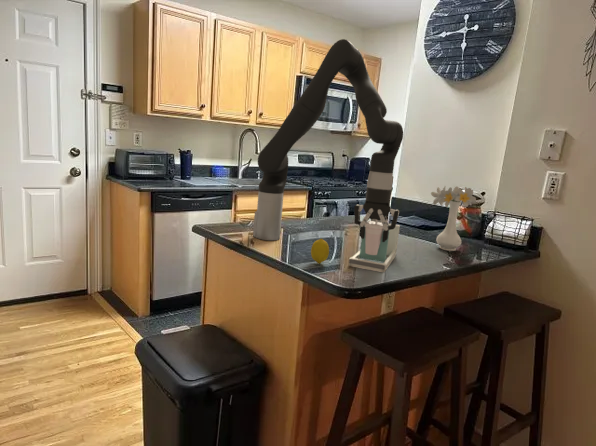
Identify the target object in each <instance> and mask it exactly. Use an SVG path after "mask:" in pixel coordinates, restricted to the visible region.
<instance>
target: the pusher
mask: <svg viewBox="0 0 596 446" xmlns="http://www.w3.org/2000/svg"><path fill="white" fill-rule="evenodd" d="M389 232H390V231H389ZM382 238H383V234H382ZM382 238H381V242H380V245H379V249H378V253H377V255H369V254H366V253H365V237H364V239H361V241H360V249H359V251H360V256H359V258H360V259H363V260H369V261H374V262H379V263H384V262H385V261H386V259H387V255H386V254H387V247H388V240H389V234H388V239H387V240H386V241H385V242H382Z"/></svg>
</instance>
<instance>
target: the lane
mask: <svg viewBox="0 0 596 446" xmlns="http://www.w3.org/2000/svg"><path fill="white" fill-rule="evenodd" d="M367 222H375V221H371V220H368V221H367ZM379 223H381V222H379ZM388 224H389V225H391V223H388ZM400 227H401V226H400V224H396V227H395V228H394V229H391V230H389V231H390V232H389V240H388V247H387V254H386V256H387V257H386V261H385V262H379V261H374V260H368V259H363V258H359V256H360V250H358V251H357V252H356V253H354V254H353V256H351V257H350V256H349V259H348V266H349V267H353V268H359V269H364V270H368V271H374V272H380V273H385V272H386V271H387V270H388V268H389V266H390V265H391V263H392V262H393V261H394V259H395V258H396V256H397V250H398V242H399V236H400Z"/></svg>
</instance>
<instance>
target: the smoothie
mask: <svg viewBox="0 0 596 446" xmlns="http://www.w3.org/2000/svg"><path fill="white" fill-rule="evenodd" d="M377 221H378V220H376V222H368V221H367V222H366V223H365V225H364V226H365V253H366V254H369V255H377V253H378V249H379V245H380V242H381V238H382V234H383V230H384V227H383V224H382V223H379V222H377Z"/></svg>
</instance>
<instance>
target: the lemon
mask: <svg viewBox="0 0 596 446" xmlns="http://www.w3.org/2000/svg"><path fill="white" fill-rule="evenodd" d="M329 247H330V246H329V243H328V242H327V241H325V240H324V239H323V238H319V239H316V240H315V241H314V242H313V243H312V245H311V249H310V256H311V259H312V260H313V261H315V262H316V264H318V265H319V264H321V263H323V262H325V261H327V259H328V257H329V255H330V248H329Z"/></svg>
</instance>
